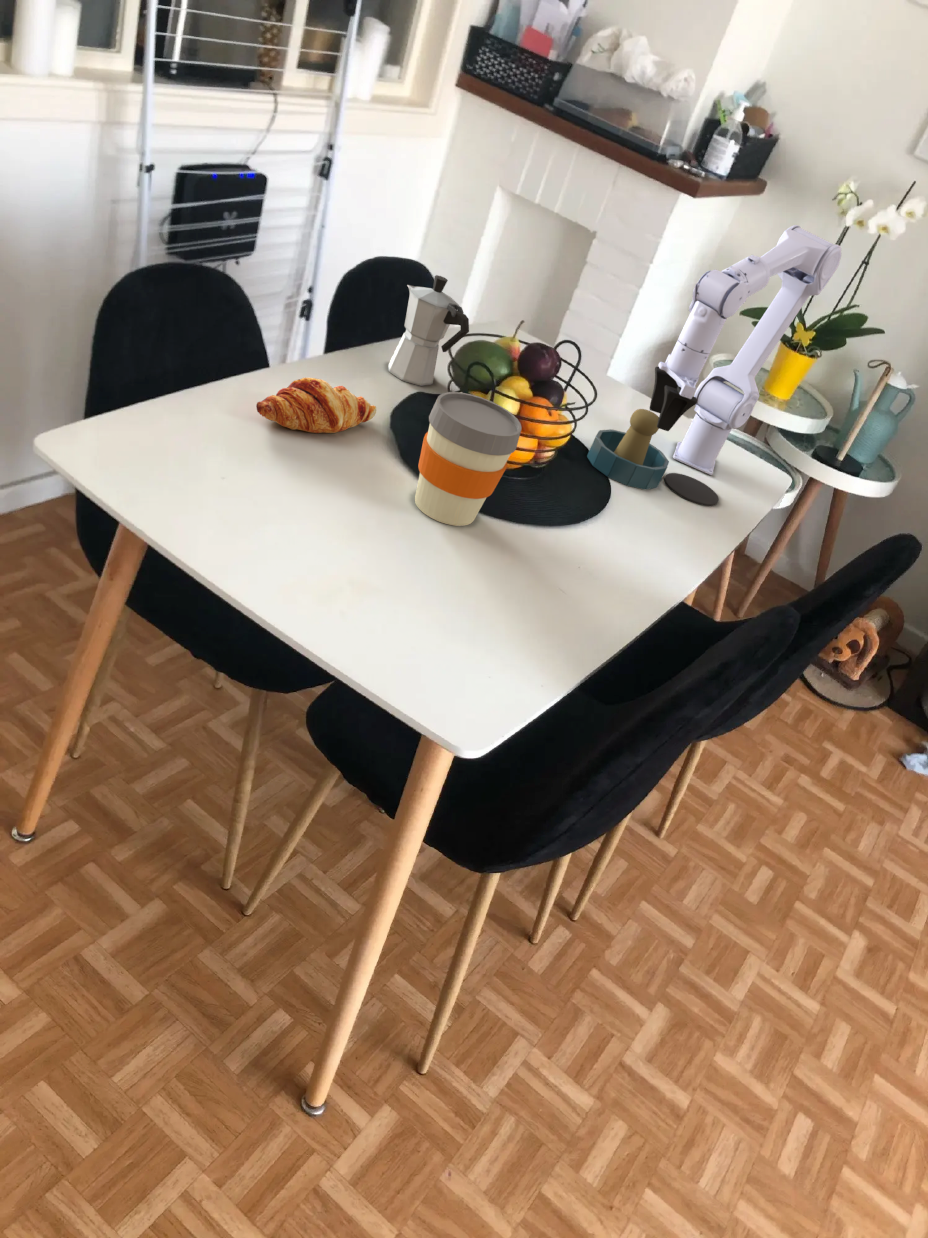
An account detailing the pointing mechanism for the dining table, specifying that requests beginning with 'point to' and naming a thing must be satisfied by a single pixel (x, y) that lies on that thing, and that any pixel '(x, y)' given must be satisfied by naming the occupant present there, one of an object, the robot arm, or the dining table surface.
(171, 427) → the dining table surface
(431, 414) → the reusable coffee cup
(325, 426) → the croissant
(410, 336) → the coffee maker
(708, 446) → the robot arm
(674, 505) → the dining table surface
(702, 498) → the black mat
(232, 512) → the dining table surface
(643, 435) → the tan game pawn
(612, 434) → the teal hollow ring
